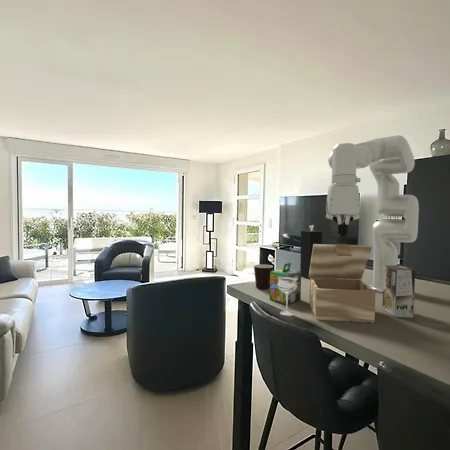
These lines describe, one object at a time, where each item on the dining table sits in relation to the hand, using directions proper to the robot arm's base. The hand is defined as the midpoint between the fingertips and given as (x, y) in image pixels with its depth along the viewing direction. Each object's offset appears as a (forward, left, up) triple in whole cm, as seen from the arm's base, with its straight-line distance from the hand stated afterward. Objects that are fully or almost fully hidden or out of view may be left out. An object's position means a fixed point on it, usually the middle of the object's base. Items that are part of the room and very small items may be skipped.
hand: (342, 236), depth 102 cm
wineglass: (+18, +2, -27) cm, 32 cm away
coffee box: (-20, -5, -27) cm, 34 cm away
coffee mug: (+28, -30, -27) cm, 49 cm away
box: (0, -2, -27) cm, 27 cm away
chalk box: (+18, -14, -27) cm, 35 cm away
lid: (0, -2, -13) cm, 13 cm away
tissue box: (+3, -58, -27) cm, 64 cm away
